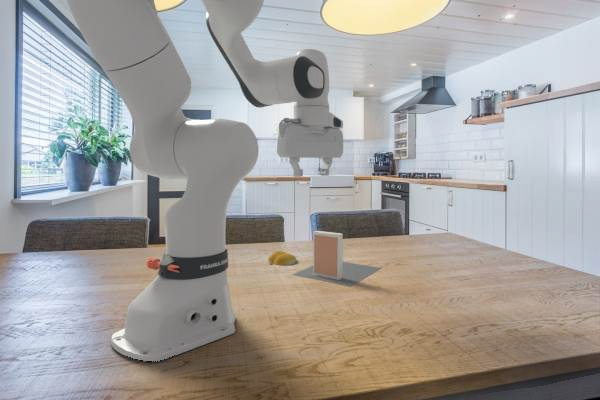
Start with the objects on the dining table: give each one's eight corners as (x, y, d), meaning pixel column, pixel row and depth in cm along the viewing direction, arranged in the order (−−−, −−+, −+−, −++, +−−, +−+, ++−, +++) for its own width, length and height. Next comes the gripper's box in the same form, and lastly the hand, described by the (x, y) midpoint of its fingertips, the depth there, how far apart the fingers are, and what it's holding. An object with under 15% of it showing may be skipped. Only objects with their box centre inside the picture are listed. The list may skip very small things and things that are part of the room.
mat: (350, 289, 90) (350, 286, 90) (292, 277, 100) (292, 274, 100) (381, 270, 106) (381, 268, 106) (328, 261, 116) (328, 259, 116)
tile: (338, 280, 95) (338, 234, 94) (312, 275, 99) (312, 231, 98) (342, 277, 97) (342, 233, 96) (317, 273, 101) (317, 230, 100)
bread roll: (281, 269, 108) (281, 256, 108) (264, 263, 115) (264, 251, 115) (302, 264, 114) (302, 252, 113) (284, 259, 120) (284, 247, 120)
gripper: (288, 115, 81) (289, 177, 82) (347, 122, 94) (347, 175, 96) (270, 118, 85) (271, 177, 86) (329, 124, 99) (329, 174, 100)
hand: (312, 176), depth 91 cm, fingers open, 8 cm apart
